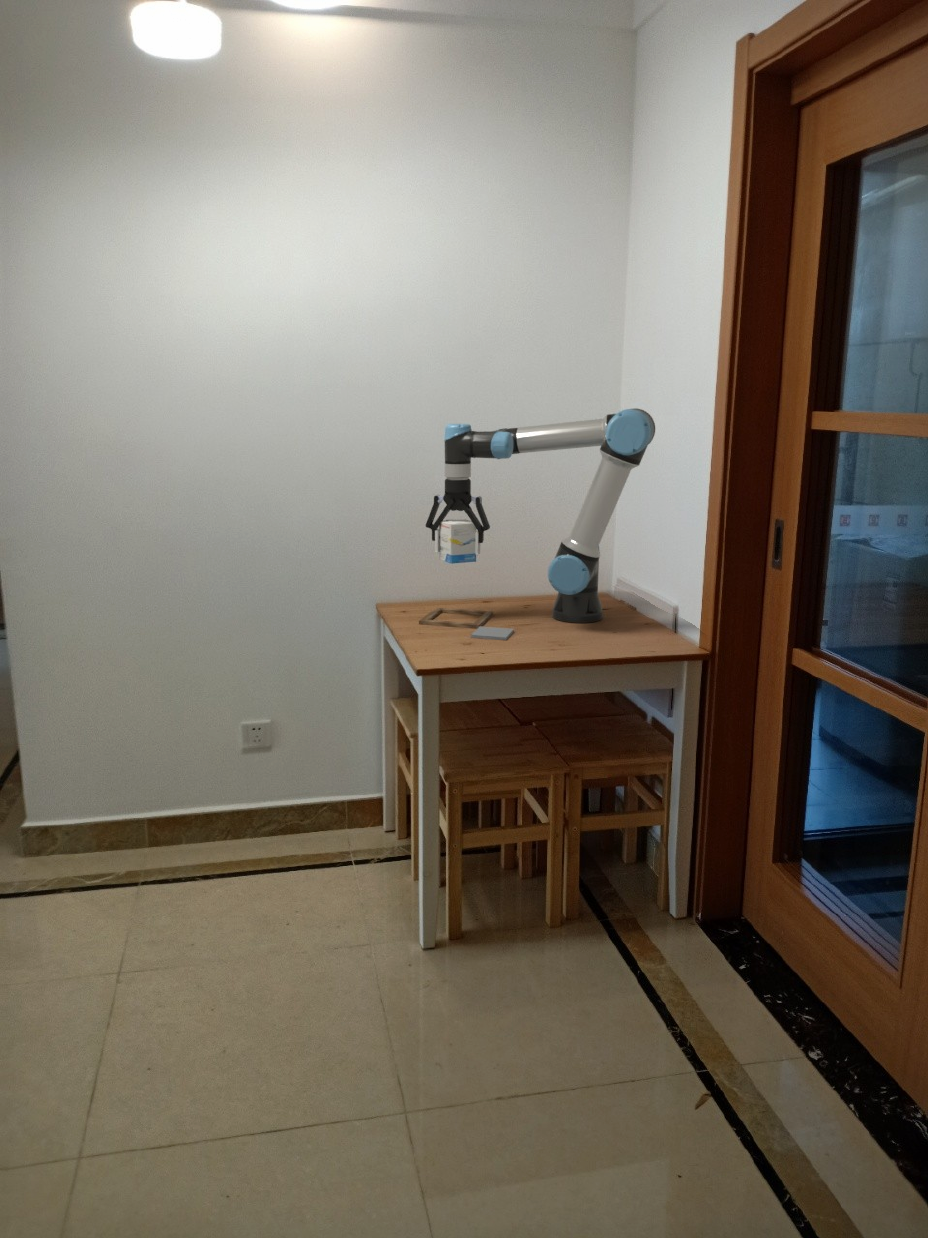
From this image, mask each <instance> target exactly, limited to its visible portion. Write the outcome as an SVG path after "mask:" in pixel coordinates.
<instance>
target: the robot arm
mask: <svg viewBox="0 0 928 1238" xmlns="http://www.w3.org/2000/svg"><path fill="white" fill-rule="evenodd" d="M444 430H445V431H444V440H443V442H444V477H445V480H444V493H443V495H439V494H436V495H434V496H433V505H432V507H431V510H430V511H429V514H428V515H429V516H428V517H427V521H426V522H425V528H428V529H430V530H431V540H432V542H434V552H435V553H438V554H439V524H440V523H441V521H444V519H445V518H446V517H447V515H448V514H449V512H450V511H452V512H455V511H458V512H463V511H464V512H465V514H466V515H467V517H468V518H469V519H470V521H472V523H473V524H474V526H475V527H476V532H475V555H476V556H479V555H480V554H481V544H483V543H484V539H485V538H484V536H485V535H484V534H485V531H488V530H490V528H491V525H490V523H489V519H488V518H487V515H486V512H485V509H484V506H483V503H482V500H483V498H482V496H481V495H480V496H479V495H478V496H472V494H471V491H472V488H471V487H472V485H471V483H472V481H471V479H470V477H471V475H472V473H471V471H472V469H471V468H472V458H473V459H476V458H477V459H478V458H479V459H496V460H502V459H503V460H504V459H510V458H511V457H512V455H519V454H526V453H538V452H548V451H557V450H558V451H559V450H570V449H581V448H591V447H600V448H599V452H600V454H601V460H600V463H599V465H598V467H597V469H596V472H595V474H594V477H593V480H592V481H591V484H590V487H589V489H588V490H587V491H588V492H587V493H586V496H585V499H584V500H583V504H582V505H581V508H580V510H579V513H578V515H577V518H576V519H575V522H574V526H573V527H572V530H571V532H570V534H569V536H568V537H565V538H563V539H562V540H561V542H560V544H559V547H558V549H557V552H556V554H555V557H554V558H553V559H552V560H551V562H550V564H549V566H548V570H547V578H548V581H549V584H550V585H551V587H552V588H553V589H554V590H555V591H556V592H557V596H556V597H555V602H554V604H553V606H552V610H551V611H552V614H551V615H552V618H553V619H554V620H558V621H561V622H566V623H580V624H583V623H586V624H587V623H594V622H599V621H601V620H603V618H604V610H603V607H602V603H601V600H600V596H599V573H600V571H599V570H600V557H601V552H600V545H601V542H602V539H603V537H604V534H605V532H606V530H607V527H608V524H609V523H610V520H611V519H612V515H613V513H614V510H615V509H616V506H617V504H618V501H619V499H620V497H621V496H622V492H623V490H624V488H625V485H626V483H627V480H628V478H629V476H630V473H631V471H632V470H633V469H635V468H636V467H639V466H640V464H641V462H642V460H643V457H644V455H645V453H646V450H647V448H648V446H649V444H651V443H652V441H653V439H654V438H655V435H656V423H655V421H654V418H653V417H652V416H651V414H649V412H647V411H646V410H644V409H642V408H628V409H627V408H626V409H623V410H620V411H619V412H616V413H610V414H609V413H608V414H606V415H605V416H604V417H603V418H599V419H597V418H595V419H585V420H576V421H569V422H567V421H566V422H559V423H549V424H548V423H547V424H539V425H531V426H523V427H522V426H520V427H511V428H499V429H496V430H491V431H477V430H475V431H474V430H473V429H472V426H471V424H469V423H448V424H446V425H445V428H444ZM443 501H444V503H445V504H446V505H445V507H444V508H443V510H442V512H441V513H440V514H439V516H438V518H437V519H436V520H435V517H436V515H437V512H438V510H439V508H440V505H441V503H443ZM472 502H473V504H474V506H475V508H476V510H477V513H478V516H479V518H480V520H479V519H478V517H477V515H476V514H475V513H474V511H473V509H472V507H471V506H470V504H471V503H472ZM434 521H435V522H434Z"/></svg>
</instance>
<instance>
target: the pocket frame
mask: <svg viewBox="0 0 928 1238" xmlns="http://www.w3.org/2000/svg"><path fill="white" fill-rule="evenodd" d="M441 613H442V614H458V615H470V616H471V615H473V616H480V617H479V618H478V619H477V620H476V621H474V622H465V621H464V622H463V621H451V620H450V621H449V620H448V621H447V620H436V619H435V618H436V617H437V616H439V615H440V614H441ZM494 613H495V612H494V611H492V610H478V609H477V610H476V609H465V608H464V609H462V608H450V607H449V608H447V607H436V608H434V609H433V610H431V611H430V612H429V613H427V614H426V615H424V617H422V618H420V619H419V620H418V625H426V626H427V625H428V626H438V627H439V626H441V627H452V628H463V629H464V628H465V629H478V628H479V627H480V626H482V627H483V625H484V624H485V623H487V622H488V620H490V619H491V617H492V616H494V615H495V614H494ZM434 619H435V620H434Z"/></svg>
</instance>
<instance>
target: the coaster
mask: <svg viewBox="0 0 928 1238" xmlns="http://www.w3.org/2000/svg"><path fill="white" fill-rule="evenodd" d="M514 632H515V629H514V628H507V627H506V628H505V627H494V626H483V625H482V626H480V627H479V628H476V630H474V631H473V632H471V634H470V638H472V639H482V640H483V639H485V640H498V641H500V640H501V641H507V640H508V639H510V637H511V635H513V634H514Z"/></svg>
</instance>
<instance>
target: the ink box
mask: <svg viewBox="0 0 928 1238" xmlns="http://www.w3.org/2000/svg"><path fill="white" fill-rule="evenodd" d="M438 529H439V552H438V555H439V556H438V557H439V560H440V561H443V562H447V563H449V564H452V565H453V564H464V563H476V562H477V555H475V532H477V529H476V527H475V526H474V524H473V523H472V521H471V520H468V519H466V518H465V519H463V518H460V519H459V518H458V519H445V520H443V521H441V523H440V524H439V527H438Z"/></svg>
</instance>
